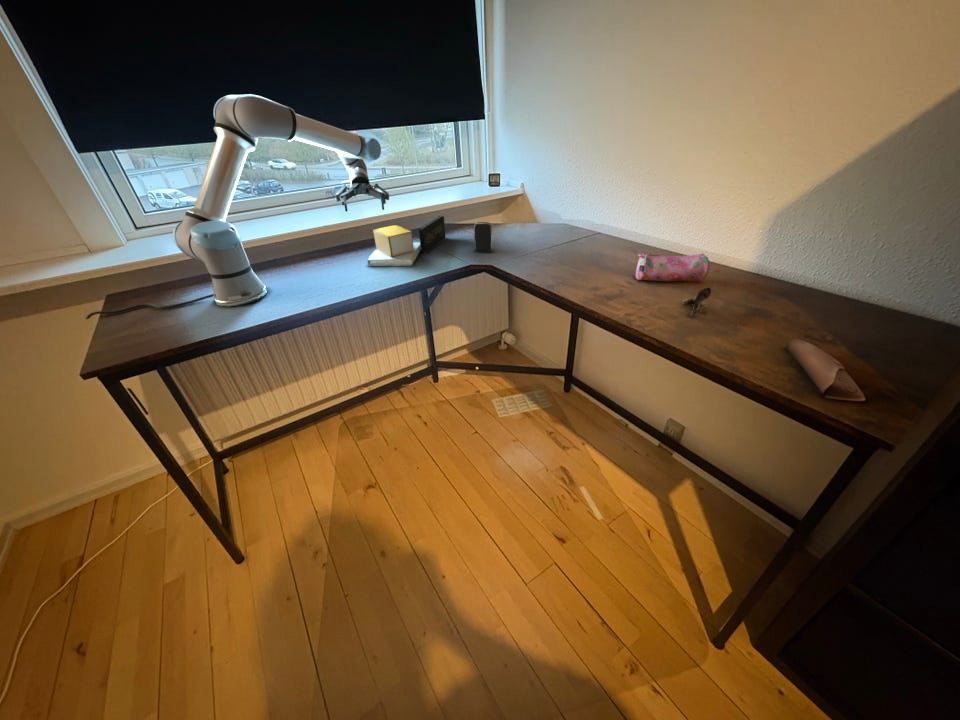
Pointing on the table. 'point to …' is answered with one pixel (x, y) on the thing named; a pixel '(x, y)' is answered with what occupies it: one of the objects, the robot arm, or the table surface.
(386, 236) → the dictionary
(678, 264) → the pencil case
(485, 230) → the battery charger
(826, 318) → the table surface
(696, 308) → the eagle figurine
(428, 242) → the nameplate
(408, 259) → the block
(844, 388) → the sunglasses case
